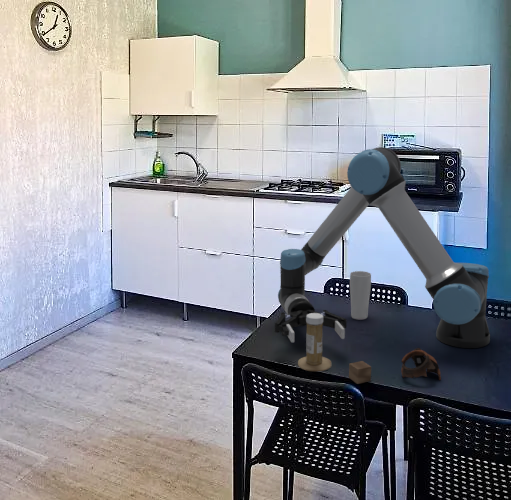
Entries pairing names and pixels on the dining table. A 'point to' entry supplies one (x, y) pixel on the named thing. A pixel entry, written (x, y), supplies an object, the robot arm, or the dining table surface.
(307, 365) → the cork coaster
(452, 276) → the robot arm
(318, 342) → the sprinkles bottle
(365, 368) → the walnut block
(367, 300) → the drinking glass
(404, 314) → the dining table surface
